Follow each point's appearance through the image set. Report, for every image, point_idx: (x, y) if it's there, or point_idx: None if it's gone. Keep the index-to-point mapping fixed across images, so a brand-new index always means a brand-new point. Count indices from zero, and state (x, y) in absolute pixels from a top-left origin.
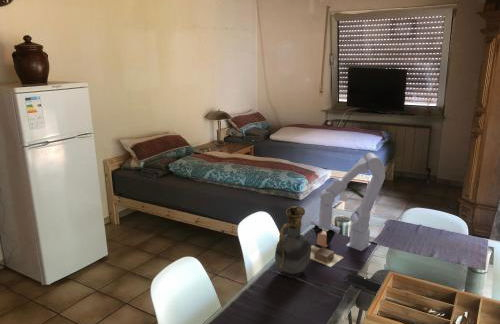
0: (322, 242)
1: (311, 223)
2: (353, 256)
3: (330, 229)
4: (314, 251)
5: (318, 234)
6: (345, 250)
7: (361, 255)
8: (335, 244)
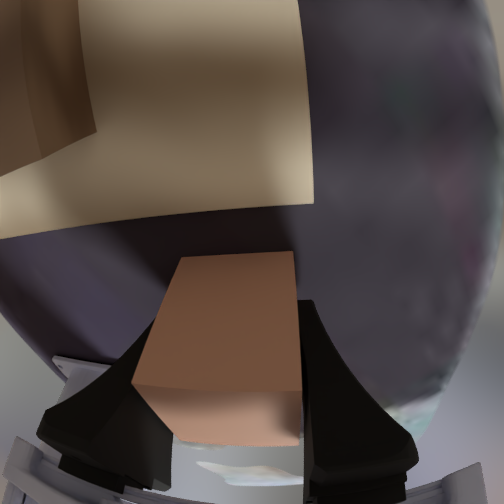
0: (209, 297)
1: (469, 484)
2: (18, 294)
3: (52, 492)
4: (180, 82)
5: (284, 383)
6: (87, 327)
7: (24, 326)
8: None
